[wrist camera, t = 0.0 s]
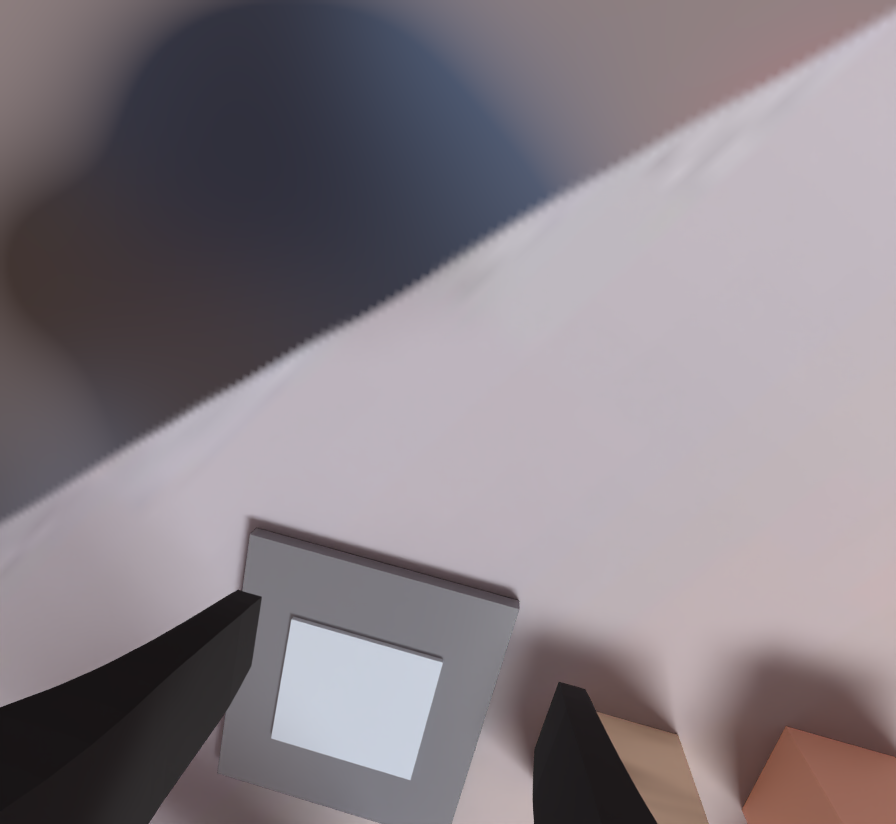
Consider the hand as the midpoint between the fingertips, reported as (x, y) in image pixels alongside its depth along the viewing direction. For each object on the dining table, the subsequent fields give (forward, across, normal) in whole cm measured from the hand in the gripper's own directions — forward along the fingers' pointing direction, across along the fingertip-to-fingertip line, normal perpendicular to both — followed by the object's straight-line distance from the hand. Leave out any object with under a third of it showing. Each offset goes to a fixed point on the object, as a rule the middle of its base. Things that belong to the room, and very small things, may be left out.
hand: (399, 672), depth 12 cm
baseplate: (+10, +2, +11) cm, 15 cm away
